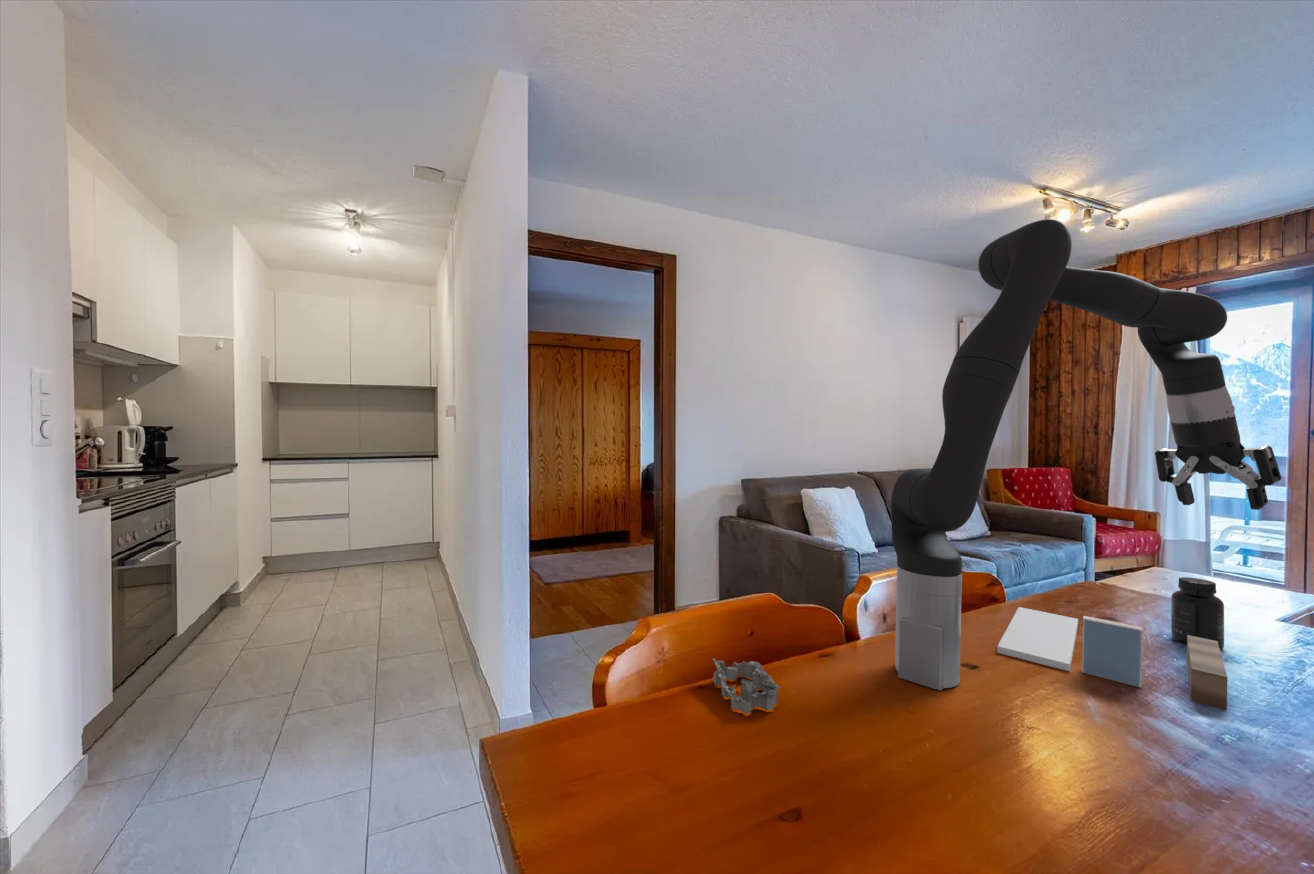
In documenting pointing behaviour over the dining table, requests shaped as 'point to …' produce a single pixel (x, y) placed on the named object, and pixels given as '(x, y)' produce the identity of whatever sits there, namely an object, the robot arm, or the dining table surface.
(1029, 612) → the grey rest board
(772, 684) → the cookie cutter
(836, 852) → the dining table surface
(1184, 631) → the supplement bottle
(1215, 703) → the brown wooden block
